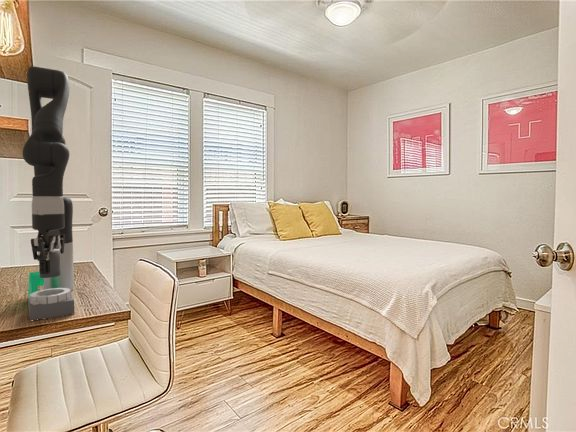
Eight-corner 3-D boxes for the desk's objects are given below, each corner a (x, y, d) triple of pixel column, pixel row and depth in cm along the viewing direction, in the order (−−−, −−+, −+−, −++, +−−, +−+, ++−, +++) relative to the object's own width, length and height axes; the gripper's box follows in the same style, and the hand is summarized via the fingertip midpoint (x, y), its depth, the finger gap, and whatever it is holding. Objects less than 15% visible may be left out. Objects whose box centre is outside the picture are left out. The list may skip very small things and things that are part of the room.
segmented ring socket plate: (28, 311, 97) (27, 291, 96) (69, 305, 103) (68, 285, 103) (30, 321, 89) (29, 299, 89) (74, 313, 95) (73, 293, 95)
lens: (45, 274, 97) (44, 248, 97) (64, 273, 98) (63, 248, 98) (35, 278, 92) (34, 250, 92) (55, 277, 93) (54, 250, 93)
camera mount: (63, 305, 103) (63, 272, 103) (33, 310, 98) (32, 276, 98) (56, 296, 112) (56, 266, 112) (28, 301, 107) (27, 269, 106)
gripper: (47, 211, 101) (48, 267, 102) (17, 213, 87) (19, 278, 87) (74, 211, 102) (75, 266, 103) (49, 213, 88) (51, 277, 89)
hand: (50, 271), depth 95 cm, fingers closed on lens, 5 cm apart
